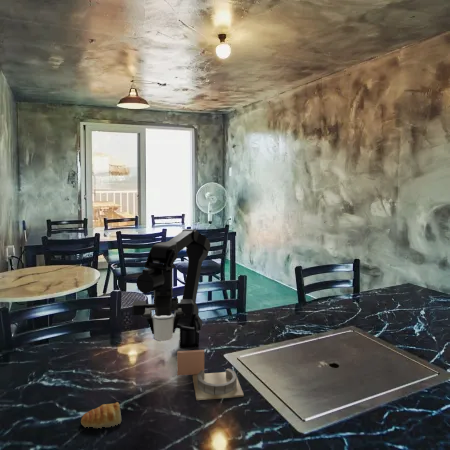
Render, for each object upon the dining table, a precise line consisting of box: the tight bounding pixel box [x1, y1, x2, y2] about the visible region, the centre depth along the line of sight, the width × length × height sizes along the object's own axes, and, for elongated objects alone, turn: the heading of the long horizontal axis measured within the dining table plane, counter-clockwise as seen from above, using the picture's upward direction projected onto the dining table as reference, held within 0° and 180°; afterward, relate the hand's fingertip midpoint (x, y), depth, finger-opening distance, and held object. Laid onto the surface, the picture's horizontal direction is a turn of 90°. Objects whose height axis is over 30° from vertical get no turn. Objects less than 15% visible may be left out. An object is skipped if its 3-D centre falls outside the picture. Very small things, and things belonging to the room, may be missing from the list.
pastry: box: [80, 401, 122, 429], centre depth 92 cm, size 9×7×4 cm
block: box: [176, 349, 205, 376], centre depth 114 cm, size 8×1×7 cm, turn 100°
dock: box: [191, 368, 245, 401], centre depth 109 cm, size 13×13×3 cm
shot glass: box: [152, 313, 174, 342], centre depth 119 cm, size 7×7×7 cm
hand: (163, 333), depth 119 cm, fingers closed on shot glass, 6 cm apart
